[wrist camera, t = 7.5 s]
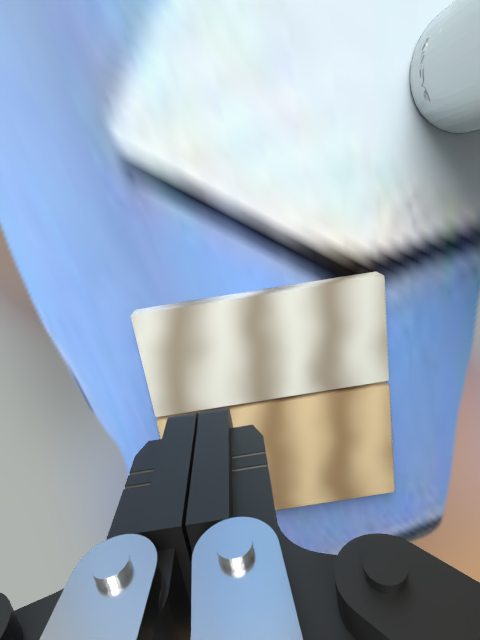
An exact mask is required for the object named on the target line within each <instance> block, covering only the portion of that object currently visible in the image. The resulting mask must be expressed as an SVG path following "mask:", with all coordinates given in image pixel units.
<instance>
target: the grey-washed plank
mask: <svg viewBox="0 0 480 640" xmlns="http://www.w3.org/2000/svg"><path fill="white" fill-rule="evenodd" d="M131 319H132V323H133V327H134V331H135V335H136V339H137V343H138V348H139V352H140V356H141V360H142V364H143V368H144V372H145V376H146V380H147V384H148V388H149V392H150V396H151V400H152V405H153V409H154V413H155V417H160V416H167V415H173V414H180V413H186V412H192V411H199V410H205V409H211V408H218V407H224V406H231V405H237V404H243V403H250V402H256V401H263V400H269V399H275V398H282V397H288V396H294V395H301V394H307V393H314V392H320V391H326V390H333V389H339V388H346V387H352V386H358V385H365V384H371V383H377V382H384V381H389V369H388V347H387V324H386V302H385V280H384V275H382V274H380V273H378V272H370V273H364V274H357V275H351V276H345V277H338V278H332V279H326V280H319V281H313V282H307V283H300V284H294V285H288V286H282V287H275V288H269V289H263V290H256V291H250V292H244V293H237V294H231V295H225V296H219V297H212V298H206V299H200V300H193V301H187V302H181V303H174V304H168V305H162V306H155V307H149V308H143V309H137V310H135V311H134V312H133V314H132V315H131Z"/></svg>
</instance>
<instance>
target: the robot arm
mask: <svg viewBox="0 0 480 640" xmlns="http://www.w3.org/2000/svg"><path fill="white" fill-rule="evenodd" d="M410 83H411V91H412V95H413V98H414V101H415V104H416V106H417V107H418V109H419V111H420V112H421V114H422V115H423V116H424V117H425V118H426V119H427V120H428V122H429V123H431V124H432V125H434V126H436V127H437V128H439V129H441V130H444V131H448V132H453V133H465V132H471V131H475V130H479V129H480V0H455V1H454V2H453V3H452V4H451V5H449V6H448V7H447V8H446V9H445V10H444V11H442V12H441V13H440V14H439V15H438V16H437V17H436V18H435V19H434V20H433V21H432V22H431V23H430V24H429V25H428V27H427V28H426V30H425V31H424V33H423V34H422V35H421V37H420V39H419V41H418V44H417V46H416V48H415V51H414V54H413V58H412V62H411V71H410ZM190 637H191V640H480V583H479V582H477V581H476V580H474V579H472V578H470V577H469V576H467V575H465V574H464V573H462V572H460V571H458V570H457V569H455V568H453V567H452V566H450V565H448V564H446V563H445V562H443V561H441V560H439V559H438V558H436V557H434V556H433V555H431V554H429V553H427V552H426V551H424V550H422V549H420V548H419V547H417V546H415V545H414V544H412V543H410V542H408V541H406V540H404V539H402V538H399V537H396V536H392V535H388V534H368V535H363V536H360V537H357V538H355V539H353V540H351V541H350V542H348V543H347V544H346V545H345V546H344V547H343V548H342V549H341V551H340V552H339V554H338V556H337V555H331V554H324V553H317V552H313V551H309V550H306V549H303V548H301V547H299V546H297V545H295V544H294V543H292V542H291V541H290V540H289V539H288V538H287V537H285V536H284V534H283V533H282V532H281V530H280V528H279V526H278V524H277V518H276V511H275V505H274V499H273V492H272V486H271V480H270V474H269V468H268V462H267V456H266V450H265V444H264V437H263V435H262V434H261V433H260V432H259V431H258V430H257V429H256V428H255V427H254V425H247V426H240V427H234V428H233V423H232V418H231V413H230V409H229V408H223V409H216V410H210V411H204V412H200V413H199V414H198V413H192V414H186V415H179V416H173V417H168V419H167V422H166V426H165V429H164V433H163V437H162V439H159V440H153V441H148V442H147V444H146V445H145V446H144V447H143V448H142V449H141V450H140V451H139V453H138V454H137V455H136V456H135V458H134V461H133V464H132V467H131V470H130V475H129V476H128V479H127V482H126V484H125V489H124V490H123V493H122V496H121V499H120V502H119V505H118V507H117V510H116V513H115V516H114V519H113V522H112V525H111V528H110V531H109V534H108V536H107V539H106V541H104V542H102V543H100V544H99V545H97V546H96V547H94V548H93V549H91V551H89V552H88V553H87V554H86V555H85V556H84V557H83V558H82V559H81V560H80V561H79V563H78V564H77V565H76V567H75V568H74V570H73V572H72V574H71V575H70V577H69V580H68V582H67V584H66V586H65V588H64V589H62V590H60V591H58V592H56V593H54V594H52V595H49V596H47V597H45V598H43V599H40V600H38V601H36V602H34V603H31V604H29V605H27V606H24V607H22V608H20V609H18V610H15V611H14V610H13V608H12V606H11V604H10V601H9V600H8V598H7V597H6V596H5V595H4V594H2V593H0V640H190Z"/></svg>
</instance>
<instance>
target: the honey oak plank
mask: <svg viewBox="0 0 480 640" xmlns="http://www.w3.org/2000/svg"><path fill="white" fill-rule="evenodd" d="M223 408H229V409H230V413H231V418H232V423H233V428H234V427H240V426H247V425H254V427H255V428H256V429H257V430H258V431H259V432H260V433H261V434H262V435H263V437H264V444H265V450H266V456H267V462H268V468H269V474H270V480H271V486H272V492H273V499H274V505H275V510H280V509H287V508H293V507H300V506H306V505H313V504H319V503H326V502H332V501H339V500H345V499H352V498H358V497H365V496H371V495H377V494H384V493H390V492H395V486H394V467H393V448H392V429H391V409H390V390H389V385H388V384H387V382H386V381H384V382H377V383H371V384H365V385H358V386H352V387H346V388H339V389H333V390H326V391H320V392H314V393H307V394H301V395H294V396H288V397H282V398H275V399H269V400H263V401H256V402H250V403H243V404H237V405H231V406H224V407H218V408H211V409H205V410H199V411H192V412H186V413H180V414H173V415H167V416H160V417H158V420H157V425H158V429H159V433H160V437H161V439H162V437H163V433H164V429H165V426H166V422H167V419H168V417H173V416H179V415H186V414H192V413H198V414H199V413H200V412H204V411H210V410H216V409H223Z"/></svg>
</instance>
